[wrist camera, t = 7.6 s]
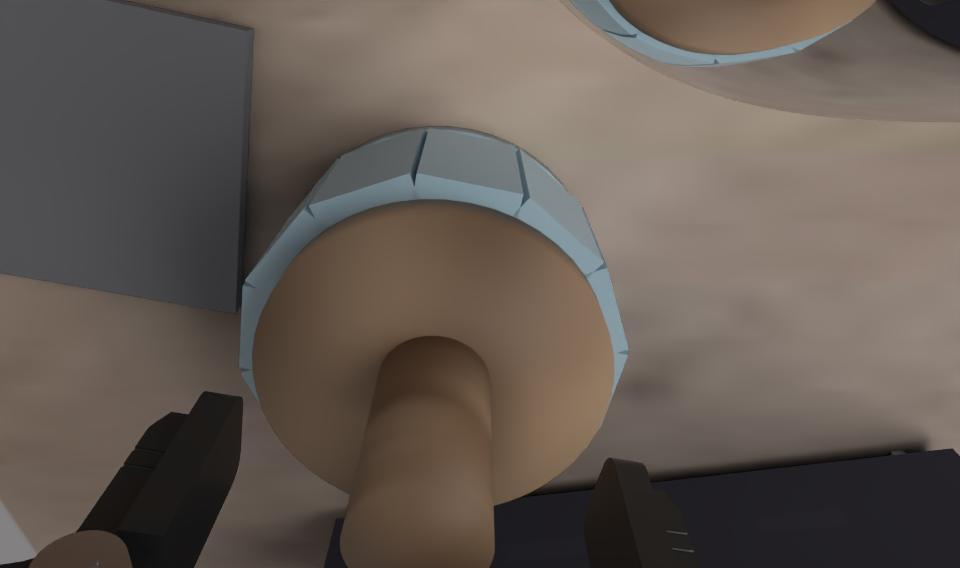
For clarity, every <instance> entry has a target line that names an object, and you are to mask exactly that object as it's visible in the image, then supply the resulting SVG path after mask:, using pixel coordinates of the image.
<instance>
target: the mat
mask: <svg viewBox="0 0 960 568" xmlns="http://www.w3.org/2000/svg"><path fill="white" fill-rule="evenodd" d="M253 39H254V29H253V28H248V27H243V26H239V25H234V24H230V23H225V22H220V21H216V20H211V19H207V18H202V17H198V16H193V15H188V14H184V13H179V12H175V11H170V10H165V9H161V8H156V7H152V6H147V5H143V4H138V3H133V2H129V1H124V0H0V273H3V274H9V275H14V276H20V277H26V278H31V279H37V280H43V281H49V282H54V283H60V284H66V285H72V286H77V287H83V288H89V289H94V290H100V291H106V292H112V293H117V294H123V295H129V296H135V297H140V298H146V299H152V300H157V301H163V302H169V303H175V304H180V305H186V306H192V307H198V308H203V309H209V310H215V311H220V312H226V313H232V314H236V313H237V311H238V310H239V308H240V307H241V302H242V280H243V258H244V236H245V214H246V193H247V171H248V149H249V127H250V105H251V83H252V61H253Z"/></svg>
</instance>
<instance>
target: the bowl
mask: <svg viewBox="0 0 960 568" xmlns="http://www.w3.org/2000/svg"><path fill="white" fill-rule="evenodd" d="M417 199H446V200H453V201H461V202H468V203H473V204H477V205H481V206H484V207H488V208H492V209H495V210H498V211H500V212H503V213H505V214H508V215H510V216H513V217H515V218H518V219H520V220H521V221H523V222H525V223H527V224H528V225H530V226H532V227H534V228H536V229H537V230H539V231H540V232H542V233H543V234H544V235H546V236H547V237H548V238H550V239H551V240H552V241H554V242H555V243H556V244H558V245H559V246H560V247H561V248H562V249H563V250H564V251H565V252H566V253H567V254H568V255H569V256H570V257H571V258H572V259H573V260H574V262H575V263H576V264H577V266H578V267H579V268H580V270H581V271H582V272H583V274H584V275H585V276H586V278H587V280H588V281H589V283H590V285H591V287H592V289H593V291H594V292H595V294H596V296H597V299H598V302H599V305H600V307H601V310H602V313H603V316H604V319H605V322H606V325H607V327H608V330H609V333H610V337H611V342H612V347H613V353H614V372H615V375H614V383H613V391H612V396H611V399H612V397H613V394H614V391H615V389H616V386H617V384H618V381H619V378H620V376H621V373H622V370H623V368H624V365H625V362H626V360H627V357H628V353H627V350H629V349H628V345H627V341H626V337H625V334H624V330H623V326H622V322H621V318H620V314H619V311H618V307H617V303H616V299H615V295H614V291H613V288H612V284H611V280H610V276H609V272H608V268H607V266H606V263H605V261H604V258H603V256H602V254H601V251H600V249H599V246H598V244H597V241H596V239H595V236H594V234H593V231H592V229H591V227H590V224H589V222H588V219H587V217H586V214H585V212H584V209H583V207H581V204H580V202H579V201H578V200H576V199H575V198H574V197H573V196H572V195H571V194H570V193H569V192H568V190H567V189H566V188H565V186H564V185H563V183H562V182H561V181H560V180H559V179H558V178H557V177H556V176H555V175H554V174H553V173H552V172H551V171H550V170H549V168H547V167H546V166H545V165H544V164H542V163H541V162H540V161H539V160H537V159H536V158H535V157H534V156H532V155H531V154H529V153H528V152H526V151H524V150H523V149H521V148H519V147H518V146H516V145H514V144H512V143H510V142H507V141H505V140H503V139H500V138H498V137H496V136H493V135H490V134H486V133H483V132H479V131H475V130H471V129H464V128H457V127H449V126H427V127H418V128H410V129H405V130H401V131H397V132H393V133H389V134H385V135H383V136H381V137H378V138H376V139H373V140H371V141H368V142H366V143H364V144H363V145H361V146H359V147H358V148H356V149H354V150H352V151H351V152H349V153H346V154H343V155H342V156H341V158H340V159H339V158H337V159H336V161H335V162H334V163H333V164H332V166H331V167H330V168H329V169H328V170H327V172H326V173H325V174H324V175H323V176H322V177H321V178H320V179H319V180H318V182H317V183H316V185H315V186H314V188H313V189H312V190H311V191H310V193H309V194H308V195H307V196H306V198H305V199H304V200H303V201H302V202H301V204H300V205H299V206H298V207H297V209H296V210H295V211H294V212H293V213H292V215H291V216H290V217H289V219H288V220H287V221H286V223H285V224H284V226H283V227H282V228H281V230H280V231H279V233H278V234H277V236H276V237H275V238H274V240H273V241H272V243H271V244H270V245H269V247H268V248H267V250H266V251H265V253H264V254H263V255H262V257H261V258H260V260H259V261H258V262H257V264H256V265H255V267H254V268H253V270H252V271H251V272H250V274H249V275H248V277H247V278H246V279H245V281H246V282H245V283H244V285H243V290H242V312H241V334H240V356H239V368H243V369H242V371H241V375H242V376H243V378H244V380H245V381H246V383H247V385H248V386H249V388H250V390H251V391H252V393H253V395H254V396H255V398H256V400H257V401H258V403H259V404H260V401H259V398H258V396H257V393H256V388H255V383H254V378H253V372H252V349H253V342H254V334H255V330H256V327H257V324H258V321H259V317H260V314H261V312H262V310H263V308H264V306H265V304H266V302H267V300H268V298H269V296H270V294H271V292H272V290H273V289H274V287H275V286H276V284H277V282H278V281H279V279H280V277H281V276H282V274H283V273H284V271H285V270H286V268H287V267H288V266H289V264H290V263H291V262H292V260H293V259H294V257H295V256H296V255H297V254H298V253H299V252H300V251H301V250H302V249H303V248H304V247H305V246H306V245H307V244H308V243H309V242H310V241H312V240H313V239H314V238H316V237H317V236H318V235H319V234H321V233H322V232H323V231H325V230H326V229H327V228H329V227H331V226H333V225H334V224H336V223H338V222H340V221H342V220H343V219H345V218H347V217H349V216H352V215H354V214H357V213H359V212H362V211H364V210H367V209H370V208H373V207H377V206H381V205H385V204H389V203H393V202H400V201H409V200H417ZM611 399H610V402H611ZM609 405H610V403H609ZM260 406H261V404H260ZM608 407H609V406H608ZM261 408H262V407H261ZM604 418H605V417H604ZM603 420H604V419H603ZM602 423H603V421H602ZM602 423H601V426H602ZM601 426H600V428H601Z"/></svg>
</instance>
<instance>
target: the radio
mask: <svg viewBox="0 0 960 568" xmlns="http://www.w3.org/2000/svg"><path fill="white" fill-rule="evenodd" d="M651 485H652V488H653V489H654V490H660V491H665V493H666V494H667V495H668V496H669V498H670V499H671V500H672V502H673V503H674V504H675V505H676V507H677V508H678V509H679V510H680V512H681V515H682V518H683V520H684V523H685V526H686V529H687V532H688V534H687V536H688V537H690V540H691V543H692V545H693V548H694V554H696V557H697V559H698V562H699V565H700V568H960V456H959V455H958V454H957V453H956V452H955V451H954V450H953V449H943V450H935V451H926V452H917V453H908V454H906V453H905V452H903V451H902V450H901V451H892V452H891V454H890V456H882V457H873V458H865V459H856V460H847V461H838V462H829V463H821V464H812V465H803V466H794V467H786V468H777V469H768V470H759V471H751V472H742V473H733V474H724V475H716V476H707V477H698V478H689V479H681V480H672V481H663V482H654V483H651ZM593 491H594V489H593V490H584V491H576V492H567V493H558V494H549V495H541V496H532V497H523V498H516V499H514V500H511V501H509V502H505V503H502V504H498V505H495V506H494V538H495V552H494V557H493V560H492V563H491V565H490V567H489V568H590V564H589V559H588V553H587V548H586V542H585V536H584V521H585V514H586V509H587V506H588V504H589V501H590V499H591V496H592V493H593ZM344 519H345V518H339V519H336V521H335V525H334V529H333V533H332V537H331V541H330V545H329V549H328V553H327V557H326V561H325V565H324V568H348V567H347V565H346V563H345V561H344V560H343V557H342V554H341V550H340V536H341V532H342V528H343V523H344Z"/></svg>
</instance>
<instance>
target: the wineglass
mask: <svg viewBox="0 0 960 568" xmlns="http://www.w3.org/2000/svg"><path fill="white" fill-rule="evenodd" d="M558 1H559V2H560V3H561V4H562V5H563V6H564V7H565V8H567V9H568V10H569V11H570V12H571V13H572V14H573V15H574V16H575V17H576V18H578V19H579V20H580V21H581V22H582V23H584V24H585V25H586V26H587V27H589V28H590V29H591V30H592V31H594V32H595V33H596V34H598V35H599V36H600V37H602V38H603V39H605V40H606V41H607V42H609V43H610V44H611V45H613V46H614V47H616V48H617V49H619V50H620V51H622V52H623V53H625V54H627V55H628V56H630V57H631V58H633V59H635V60H637V61H638V62H640V63H642V64H644V65H645V66H647V67H649V68H651V69H653V70H655V71H657V72H659V73H661V74H663V75H665V76H667V77H670V78H672V79H674V80H677V81H679V82H681V83H684V84H686V85H689V86H691V87H694V88H697V89H699V90H702V91H705V92H707V93H710V94H714V95H717V96H720V97H723V98H726V99H730V100H734V101H738V102H742V103H746V104H750V105H754V106H758V107H763V108H768V109H773V110H778V111H785V112H792V113H799V114H806V115H813V116H822V117H833V118H845V119H858V120H877V121H906V122H960V0H558Z"/></svg>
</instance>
